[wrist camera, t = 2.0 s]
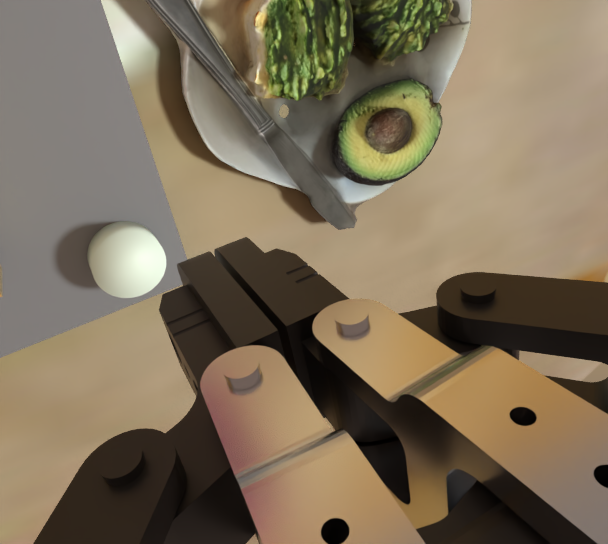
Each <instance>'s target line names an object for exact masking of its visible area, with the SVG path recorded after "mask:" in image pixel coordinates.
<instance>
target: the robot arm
mask: <svg viewBox="0 0 608 544" xmlns="http://www.w3.org/2000/svg"><path fill="white" fill-rule="evenodd" d="M177 268H178V272H179V275H180V278H181V281H182V284H183V287H180V288H178V289H175V290H173V291H170V292H168V293H165V294H163V296H162V300H161V304H160V308H159V311H160V314H161V316H162V319H163V321H164V324H165V327H166V329H167V332H168V334H169V337H170V339H171V342H172V345H173V347H174V350H175V352H176V355H177V357H178V360H179V363H180V365H181V367H182V369H183V371H184V373H185V375H186V377H187V379H188V381H189V383H190V385H191V387H192V389H193V391H194V393H195V395H196V400H195V402H194V404H193V406H192V408H191V409H190V411H189V412H188V413H187V415H186V416H185V417H184V418H183V419H182V420H181V421H180V422H179V423H178V424H176V425H175V426H174V427H173V428H172V429H170V430H169V431H168V432H167V433H163V432H161V431H158V430H155V429H136V430H131V431H128V432H124V433H122V434H119V435H117V436H115V437H113V438H111V439H109V440H108V441H106V442H105V443H103V444H102V445H100V446H99V447H98V448H97V449H96V450H95V451H93V452H92V453H91V454H90V455H89V457H88V458H87V459H86V460H85V461H84V463H83V464H82V466H81V467H80V469H79V470H78V472H77V474H76V475H75V477H74V478H73V480H72V482H71V483H70V485H69V487H68V488H67V490H66V491H65V493H64V495H63V496H62V498H61V500H60V501H59V503H58V505H57V506H56V508H55V509H54V511H53V513H52V514H51V516H50V518H49V519H48V521H47V522H46V524H45V526H44V527H43V529H42V531H41V532H40V534H39V535H38V537H37V539H36V540H35V542H34V544H246V543H247V542H248V541H249V540H250V538H251V537H252V536H253V535H254V534H255V535H256V537H257V540H258V542H259V544H608V377H607V378H606V379H605V380H602V381H600V382H594V383H590V382H583V381H576V380H570V379H563V378H557V377H551V376H544V375H542V374H540V373H539V372H537V371H535V370H534V369H532V368H531V367H529V366H527V365H526V364H524V363H522V362H521V361H519V350H521V351H528V352H535V353H542V354H549V355H556V356H563V357H570V358H578V359H585V360H592V361H598V362H602V363H605V364H607V365H608V283H605V282H593V281H581V280H569V279H557V278H545V277H533V276H521V275H509V274H497V273H484V272H473V273H465V274H460V275H457V276H454V277H452V278H450V279H448V280H446V281H445V282H443V283H442V284H441V285H440V286H439V288H438V290H437V293H436V297H437V306H433V307H428V308H424V309H419V310H415V311H410V312H405V313H399V314H397V313H396V312H394V311H393V310H391V309H390V308H388V307H387V306H385V305H384V304H382V303H380V302H377V301H374V300H370V299H362V298H359V299H349V298H348V297H346V296H345V295H344V294H343V293H342V292H340V291H339V290H338V289H337V288H336V287H334V286H333V285H332V284H331V283H330V282H328V281H327V280H326V279H325V278H324V277H322V276H321V275H320V274H319V275H318V273H317V272H316V271H315V270H314V269H313V268H312V267H310V266H308V265H307V263H306V262H304V261H303V260H302V259H301V258H300V257H298V256H297V255H296V254H294V253H290V252H287V251H283V250H280V249H274V250H272V251H269V252H267V253H264V252H263V251H262V250H260V249H259V248H258V247H257V246H256V245H255V244H254V243H253V242H252V241H251V240H250V239H249V238H247V237H245V238H242V239H240V240H237V241H235V242H232V243H229V244H227V245H224V246H222V247H219V248H217V249H215V257H214V255H213V254H212V253H211V252H206V253H204V254H201V255H199V256H196V257H194V258H191V259H188V260H186V261H183V262H181V263H178V264H177ZM325 417H326V418H327V419H328V421H329V422H330V423H331V424H332V426H333V430H334V432H333V431H332V430H331V428H330V427H329V425H328V424H327V422H326V421H325V419H324V418H325Z"/></svg>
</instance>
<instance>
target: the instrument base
mask: <svg viewBox="0 0 608 544" xmlns="http://www.w3.org/2000/svg"><path fill="white" fill-rule="evenodd" d="M186 260H187V257H186V254H185V251H184V248H183V245H182V242H181V239H180V236H179V234H178V231H177V228H176V225H175V222H174V219H173V216H172V213H171V210H170V207H169V204H168V201H167V198H166V195H165V192H164V189H163V186H162V183H161V180H160V177H159V174H158V171H157V168H156V165H155V162H154V159H153V156H152V153H151V150H150V147H149V144H148V141H147V138H146V135H145V132H144V129H143V126H142V123H141V120H140V117H139V114H138V111H137V108H136V105H135V102H134V99H133V96H132V93H131V90H130V87H129V84H128V81H127V78H126V75H125V72H124V69H123V66H122V63H121V60H120V57H119V54H118V51H117V48H116V45H115V42H114V39H113V36H112V33H111V30H110V27H109V24H108V21H107V18H106V15H105V12H104V9H103V6H102V3H101V0H0V265H1V267H2V290H3V297H0V358H1V357H3V356H6V355H8V354H11V353H13V352H16V351H18V350H21V349H23V348H26V347H28V346H31V345H33V344H36V343H38V342H41V341H43V340H46V339H48V338H51V337H53V336H56V335H58V334H61V333H63V332H66V331H68V330H71V329H73V328H75V327H78V326H80V325H83V324H85V323H88V322H90V321H93V320H95V319H98V318H100V317H103V316H105V315H108V314H110V313H113V312H115V311H118V310H120V309H123V308H125V307H128V306H130V305H133V304H135V303H138V302H140V301H143V300H145V299H148V298H150V297H153V296H155V295H158V294H160V293H163V292H165V291H168V290H170V289H173V288H175V287H178V286H180V285H183V284H182V281H181V278H180V275H179V272H178V268H177V264H178V263H181V262H183V261H186Z"/></svg>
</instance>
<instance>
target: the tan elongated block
mask: <svg viewBox="0 0 608 544" xmlns="http://www.w3.org/2000/svg"><path fill="white" fill-rule="evenodd" d="M0 297H3V290H2V267H1V265H0Z"/></svg>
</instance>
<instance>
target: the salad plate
mask: <svg viewBox="0 0 608 544" xmlns="http://www.w3.org/2000/svg"><path fill="white" fill-rule="evenodd" d="M145 1H146V2H147V3H148V4H149V6H150V7H151V8H152V9H153V10H154V12H155V13H156V14H157V15H158V16H159V18H160V19H161V20H162V21H163V22H164V24H165V25H166V26H167V27H168V28H169V30H170V31H171V32H172V34H173V35H174V37H175V38H176V40H177V42H178V46H179V49H180V59H181V68H182V71H181V82H182V93H183V96H184V99H185V101H186V103H187V106H188V109H189V112H190V115H191V117H192V119H193V122H194V124H195V126H196V128H197V130H198V132H199V134H200V136H201V137H202V140H203V142H204V144H205V145H206V147H207V148H208V149H209V150H210V151H211V152H212V153H213V154H214V155H215V156H216V157H217V158H218V159H219V160H221V161H222V162H224V163H226V164H228V165H229V166H231V167H233V168H235V169H237V170H239V171H241V172H244V173H247V174H249V175H252V176H256V177H259V178H262V179H265V180H267V181H271V182H273V183H276V184H279V185H282V186H286V187H289V188H293V189H297V190H299V191H302V192H304V193H305V194H306V195H307V196H308V197H309V200H310V203H311V205H312V207H314V209H315V210H316V211H317V212H318V213H319V214H320V215H321V216H322V217H323V218H324V219H325V220H326V221H328V222H329V223H330V224H331V225H333V226H334V227H335V228H337V229H339V230H341V229H346V228H354V226H355V223H356V221H357V219H356V216H355V210H356V208H357V207H358V206H359V205H360V204H361V203H363V202H365V201H367V200H369V199H371V198H373V197H375V196H378V195H379V194H381V193H383V192H384V191H386V190H387V189H388V188H390V187H391V186H392V185H393V184H394V183H395V182H396V181H398V180H400V179H402V178H404V177H406V176H407V175H408V174H409V173H411V172H412V171H414V170H415V169H416V168H417V167H418V166H420V165H421V164H422V163H423V161H424V160H425V159H426V157H427V156H428V155H429V154H430V152H431V150H432V149H433V147H434V145H435V143H436V141H437V139H438V136H439V134H440V130H441V127H442V117H441V115H440V111H441V105H440V103H439V100H440V98H441V96H442V94H443V92H444V91H445V89H446V87H447V85H448V82H449V79H450V77H451V75H452V73H453V71H454V69H455V67H456V65H457V62H458V60H459V58H460V55H461V53H462V50H463V48H464V45H465V42H466V39H467V35H468V32H469V28H470V24H471V14H472V0H145ZM354 41H355V43H356V46H355V47H354V46H353V43H354ZM283 104H285V105H287V106H288V108H289V114H288V116H287V117H286V118H282V117H280V115H279V110H280V107H281V106H282V105H283Z"/></svg>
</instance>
